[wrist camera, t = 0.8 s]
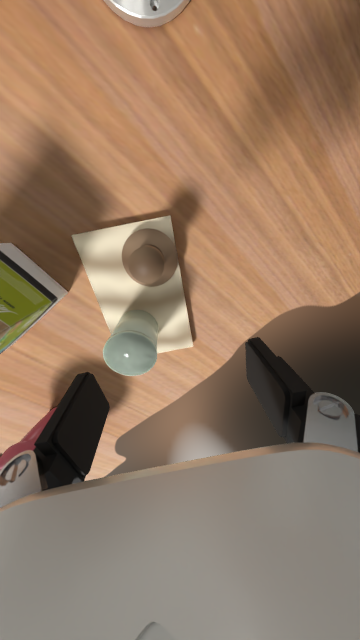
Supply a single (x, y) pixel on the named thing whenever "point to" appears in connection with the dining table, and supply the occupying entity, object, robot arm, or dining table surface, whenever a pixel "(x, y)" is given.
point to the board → (134, 283)
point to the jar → (132, 344)
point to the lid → (149, 257)
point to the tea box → (23, 294)
